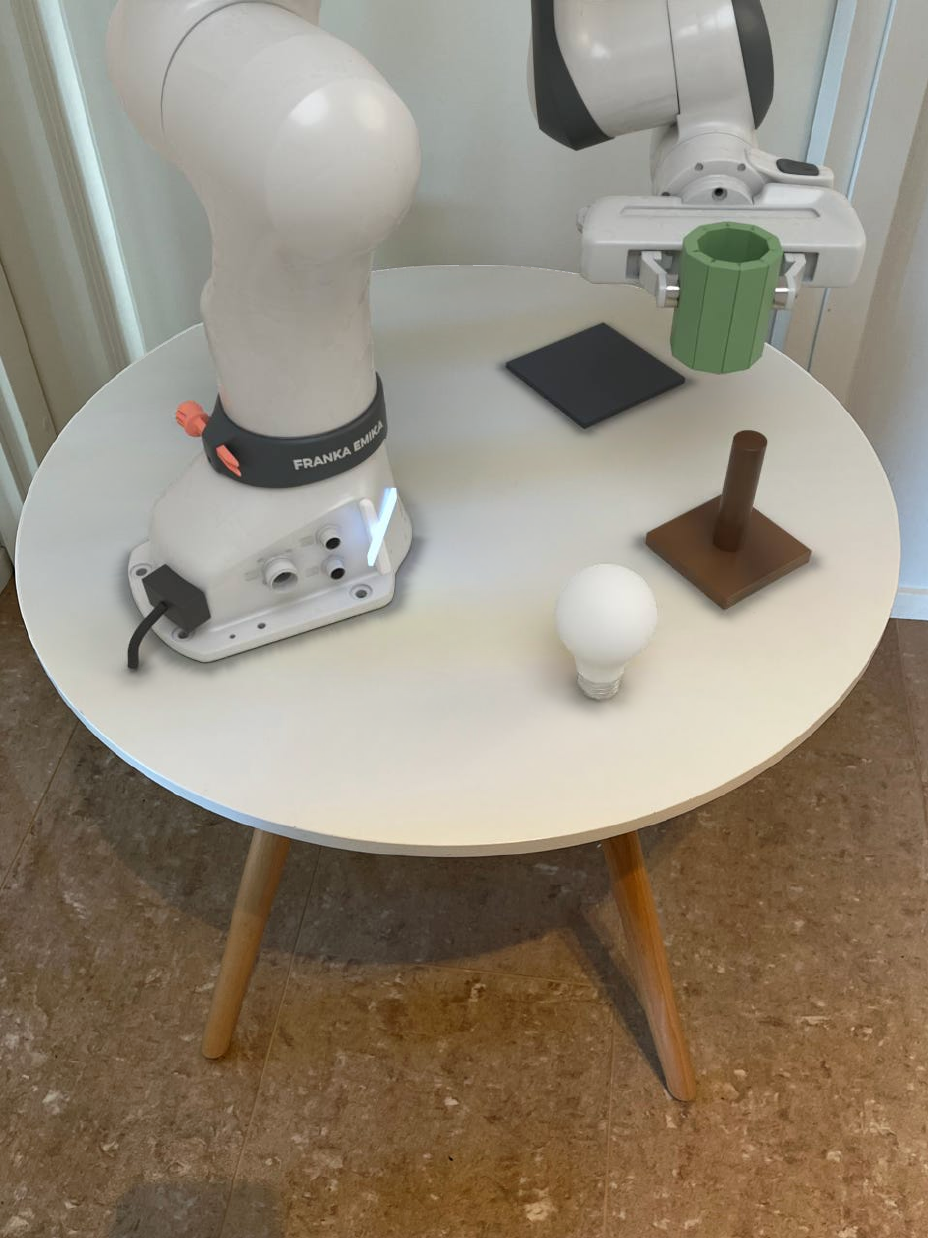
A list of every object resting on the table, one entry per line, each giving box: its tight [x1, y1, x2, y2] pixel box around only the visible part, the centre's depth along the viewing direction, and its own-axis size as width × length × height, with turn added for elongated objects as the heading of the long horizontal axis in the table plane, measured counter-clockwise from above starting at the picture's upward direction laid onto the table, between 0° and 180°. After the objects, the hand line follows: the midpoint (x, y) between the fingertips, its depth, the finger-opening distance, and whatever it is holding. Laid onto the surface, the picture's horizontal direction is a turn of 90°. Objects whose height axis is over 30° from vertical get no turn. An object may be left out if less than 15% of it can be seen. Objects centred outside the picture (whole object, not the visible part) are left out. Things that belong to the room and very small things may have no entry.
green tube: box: [669, 221, 783, 375], centre depth 74 cm, size 6×7×8 cm
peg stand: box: [644, 429, 813, 610], centre depth 79 cm, size 9×9×11 cm
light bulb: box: [553, 563, 659, 701], centre depth 70 cm, size 7×7×11 cm
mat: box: [505, 321, 686, 429], centre depth 100 cm, size 12×12×1 cm
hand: (726, 299), depth 73 cm, fingers closed on green tube, 6 cm apart
